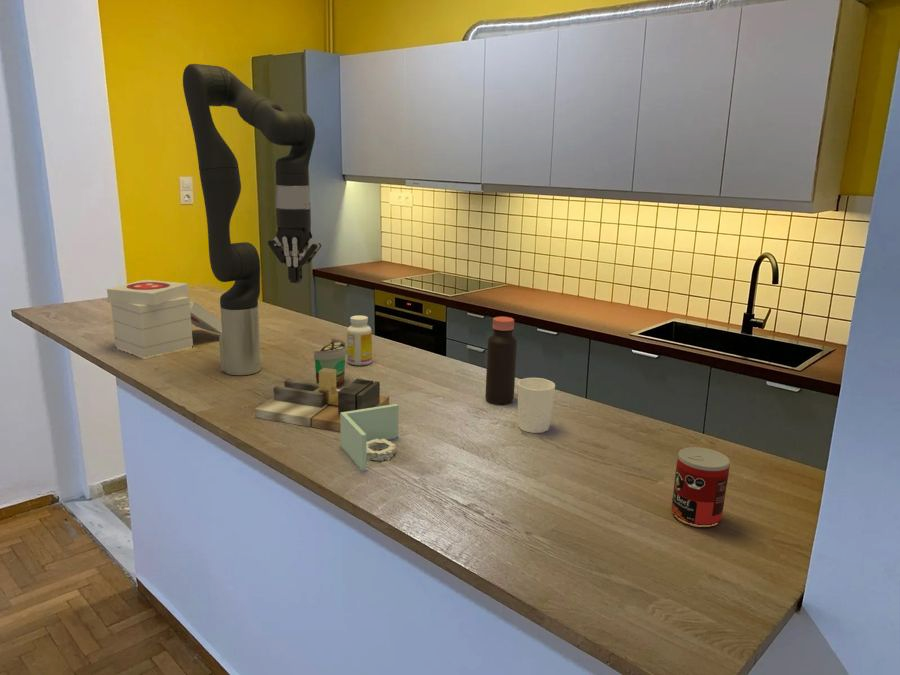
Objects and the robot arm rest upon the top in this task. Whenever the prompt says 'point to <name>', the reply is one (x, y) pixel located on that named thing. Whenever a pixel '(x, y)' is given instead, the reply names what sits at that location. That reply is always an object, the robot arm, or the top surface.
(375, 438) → the l-shaped corner panel
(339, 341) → the food container
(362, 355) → the supplement bottle
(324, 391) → the wooden t-shaped block
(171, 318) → the pizza boxes
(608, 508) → the top surface
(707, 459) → the canned food
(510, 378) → the vinegar
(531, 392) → the white cup
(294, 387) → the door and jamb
